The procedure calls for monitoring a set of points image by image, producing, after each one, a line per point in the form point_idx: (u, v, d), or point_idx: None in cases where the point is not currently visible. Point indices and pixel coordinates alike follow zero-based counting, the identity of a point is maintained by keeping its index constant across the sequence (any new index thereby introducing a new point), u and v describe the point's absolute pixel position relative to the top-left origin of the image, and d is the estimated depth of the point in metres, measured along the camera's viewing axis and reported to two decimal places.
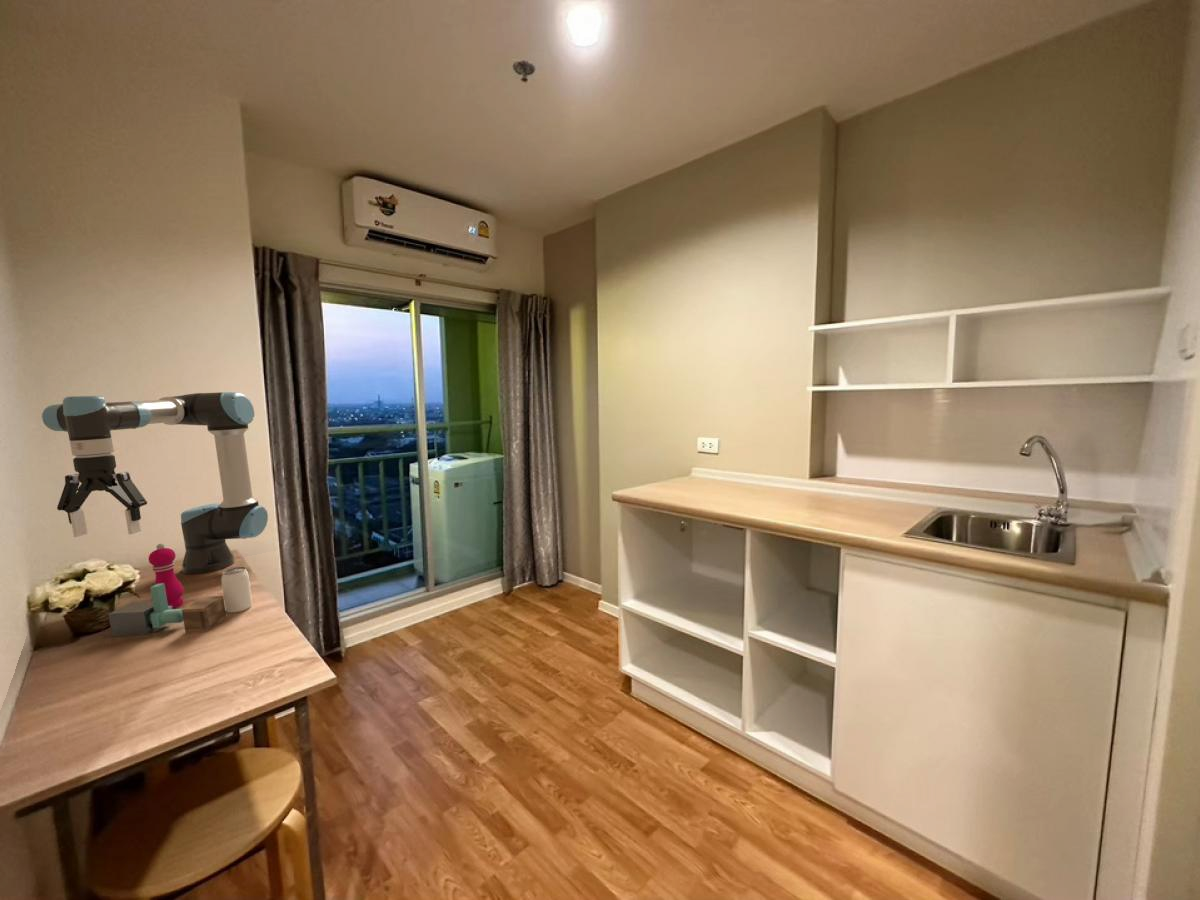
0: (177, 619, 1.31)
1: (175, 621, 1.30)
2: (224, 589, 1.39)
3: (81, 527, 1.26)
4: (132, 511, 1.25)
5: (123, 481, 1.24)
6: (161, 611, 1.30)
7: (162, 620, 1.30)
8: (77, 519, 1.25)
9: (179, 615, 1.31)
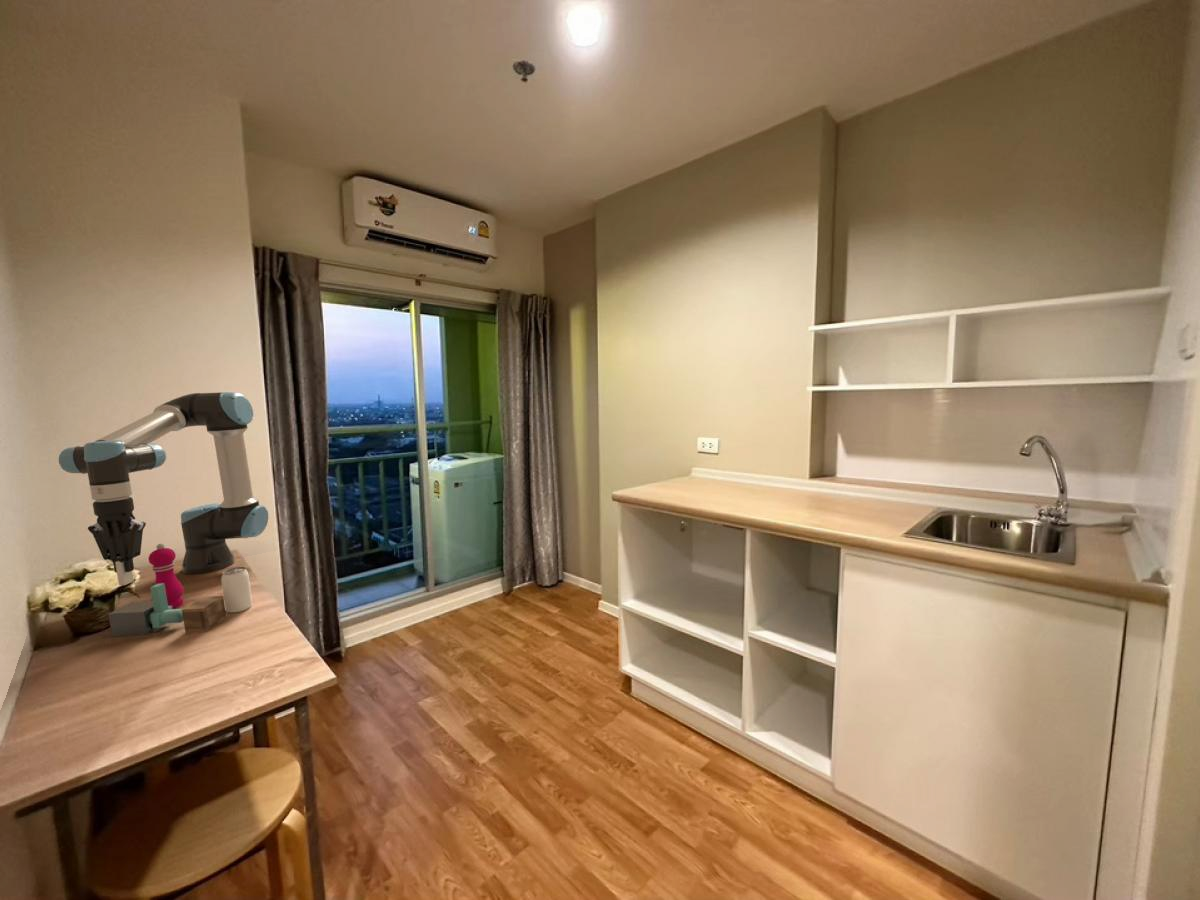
0: (177, 619, 1.31)
1: (175, 621, 1.30)
2: (224, 589, 1.39)
3: None
4: (125, 562, 1.28)
5: (135, 532, 1.27)
6: (161, 611, 1.30)
7: (162, 620, 1.30)
8: None
9: (179, 615, 1.31)
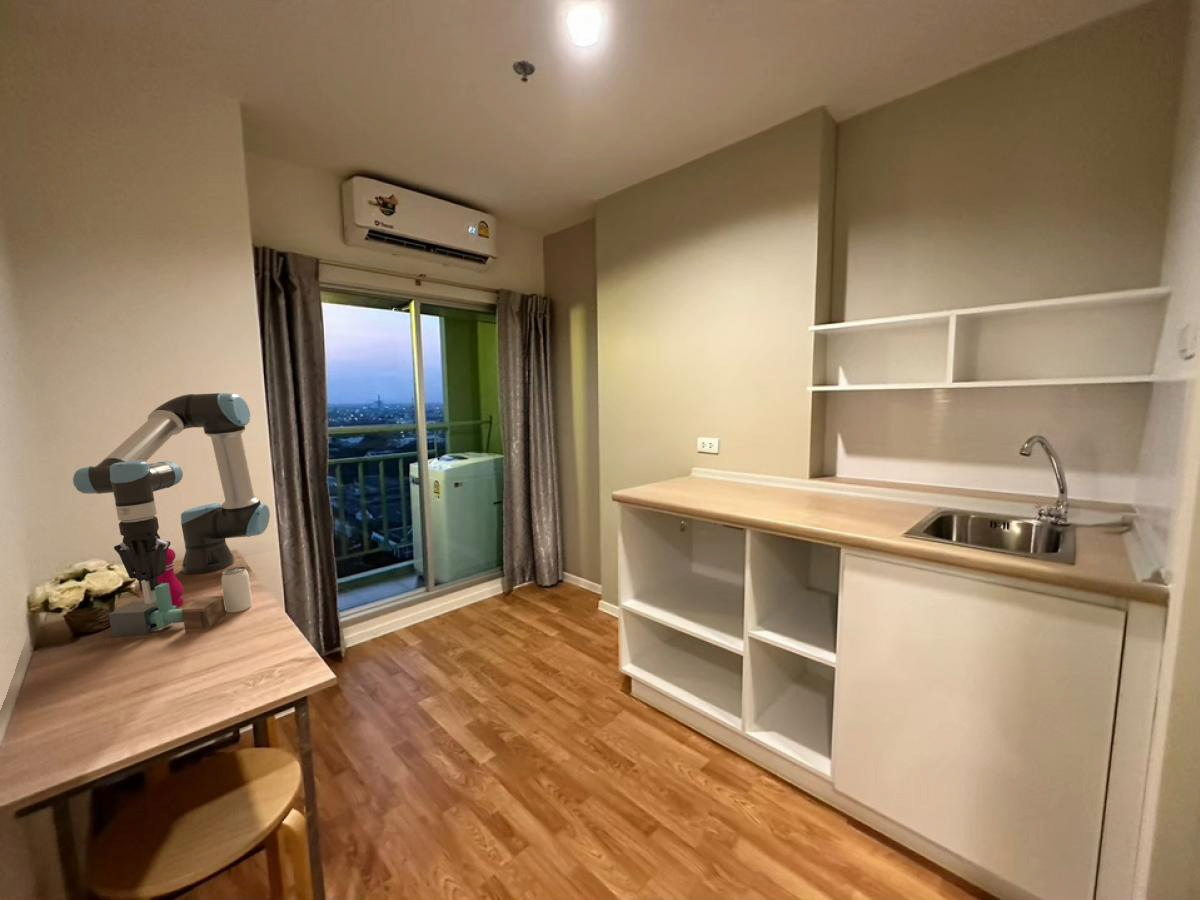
0: (182, 618, 1.31)
1: (179, 621, 1.30)
2: (224, 589, 1.39)
3: None
4: (151, 581, 1.29)
5: (160, 551, 1.28)
6: (165, 611, 1.30)
7: (166, 620, 1.30)
8: None
9: None
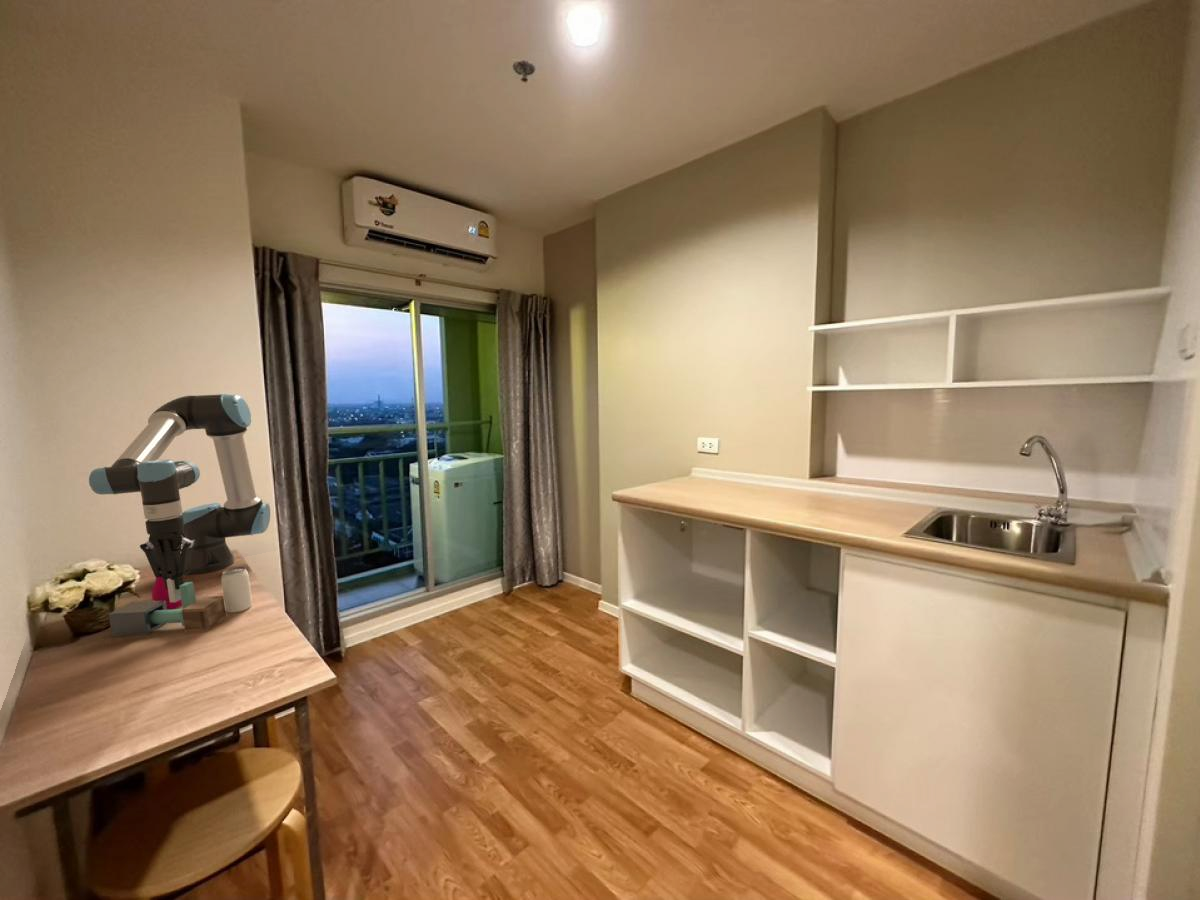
0: None
1: None
2: (224, 589, 1.39)
3: None
4: (176, 580, 1.30)
5: (186, 550, 1.28)
6: None
7: None
8: None
9: None
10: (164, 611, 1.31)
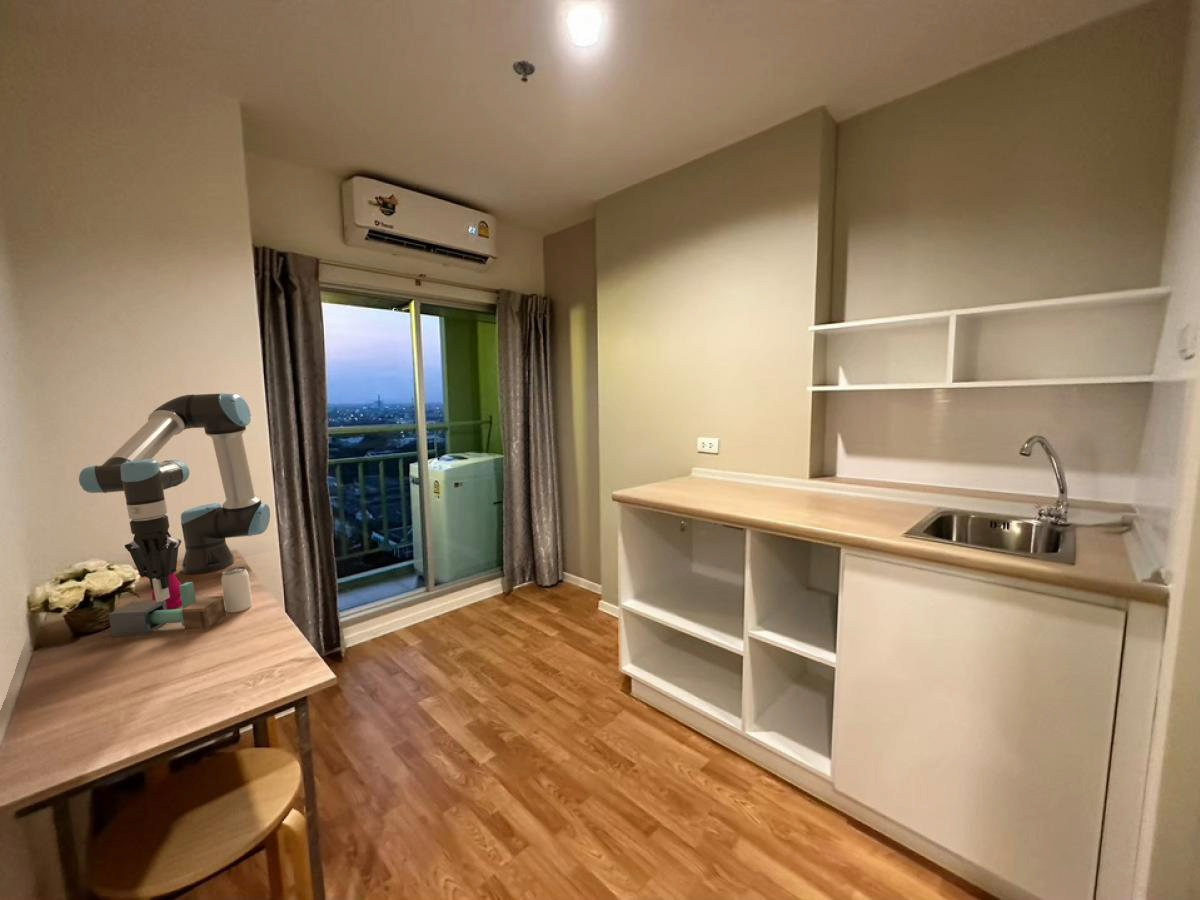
0: None
1: None
2: (224, 589, 1.39)
3: None
4: (162, 579, 1.30)
5: (171, 550, 1.28)
6: None
7: None
8: None
9: None
10: (164, 611, 1.31)
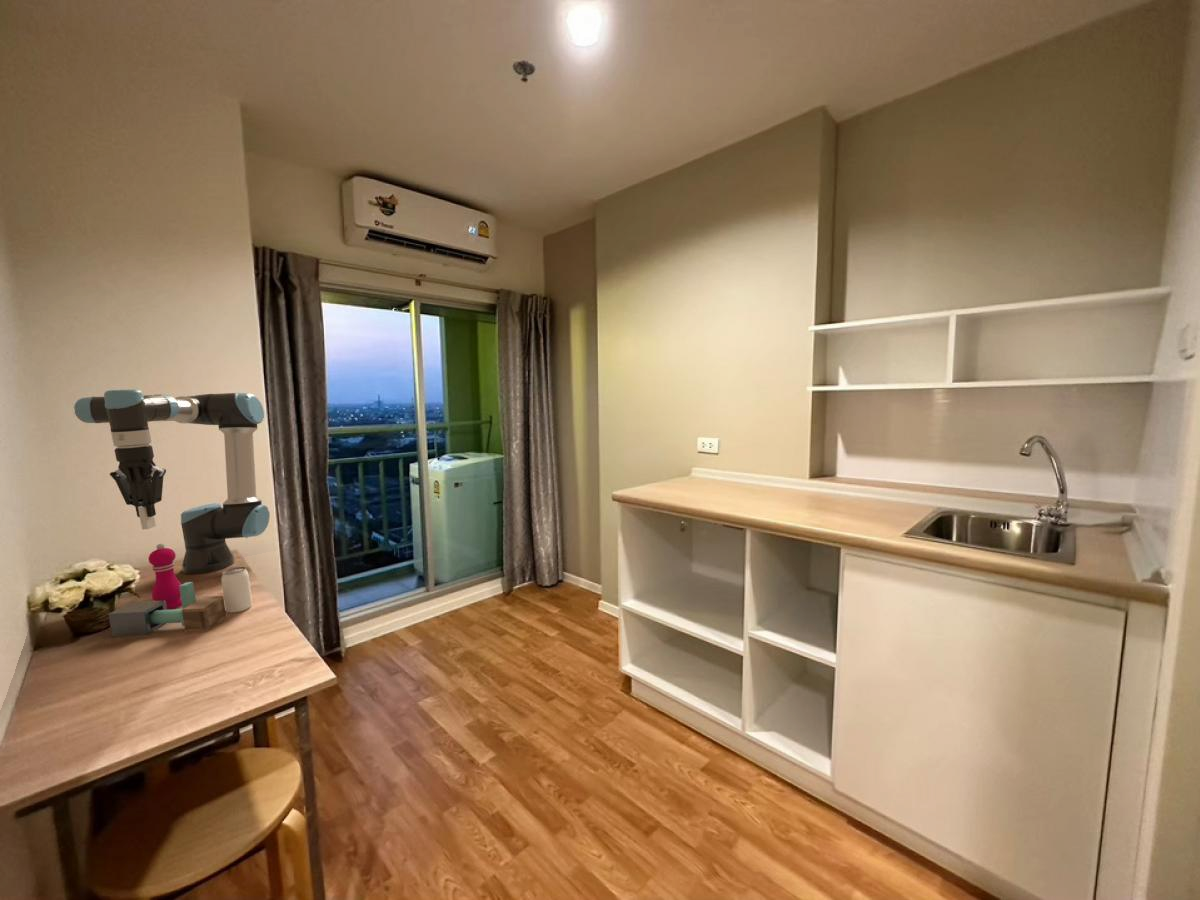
0: None
1: None
2: (224, 589, 1.39)
3: None
4: (148, 507, 1.33)
5: (157, 478, 1.32)
6: None
7: None
8: None
9: None
10: (164, 611, 1.31)
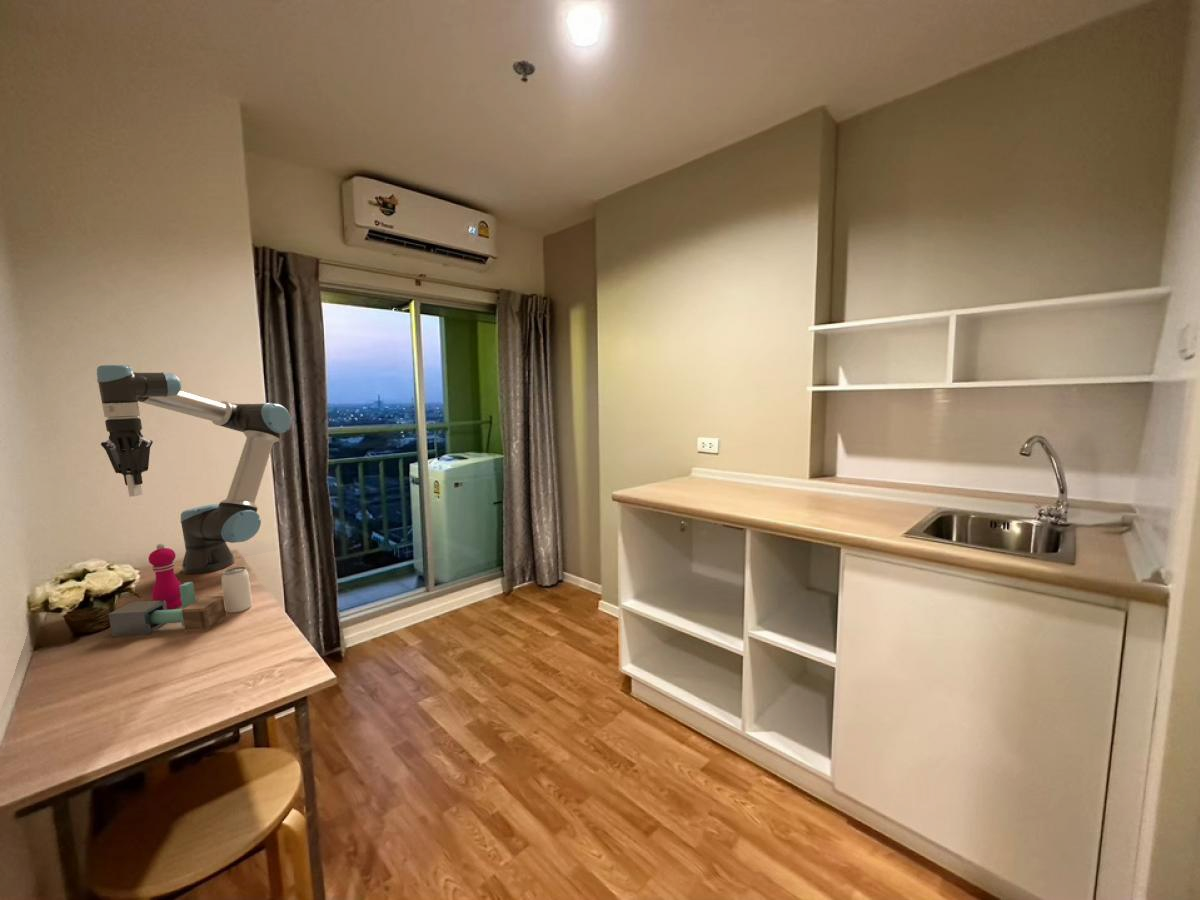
0: None
1: None
2: (224, 589, 1.39)
3: None
4: (135, 476, 1.42)
5: (143, 448, 1.41)
6: None
7: None
8: None
9: None
10: (164, 611, 1.31)
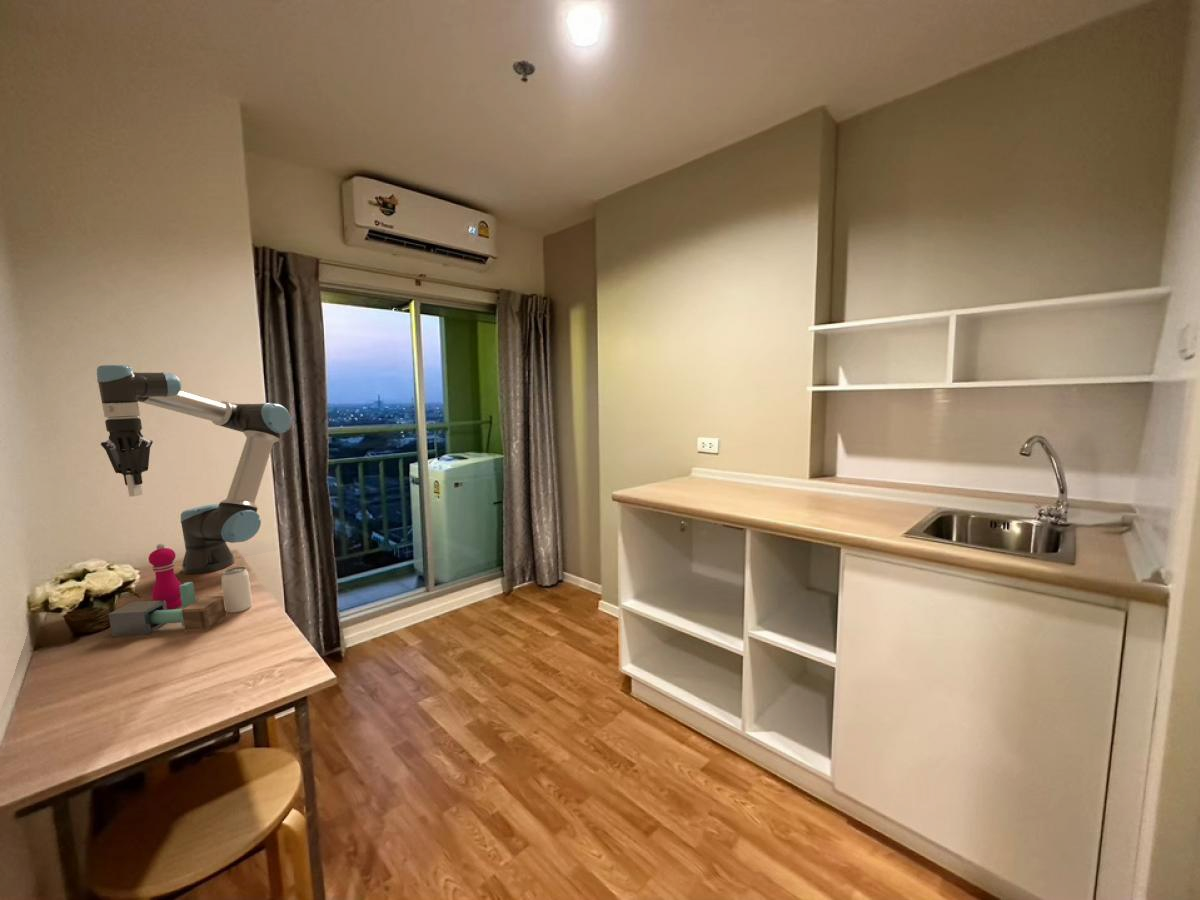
0: None
1: None
2: (224, 589, 1.39)
3: None
4: (135, 476, 1.42)
5: (143, 448, 1.41)
6: None
7: None
8: None
9: None
10: (164, 611, 1.31)
